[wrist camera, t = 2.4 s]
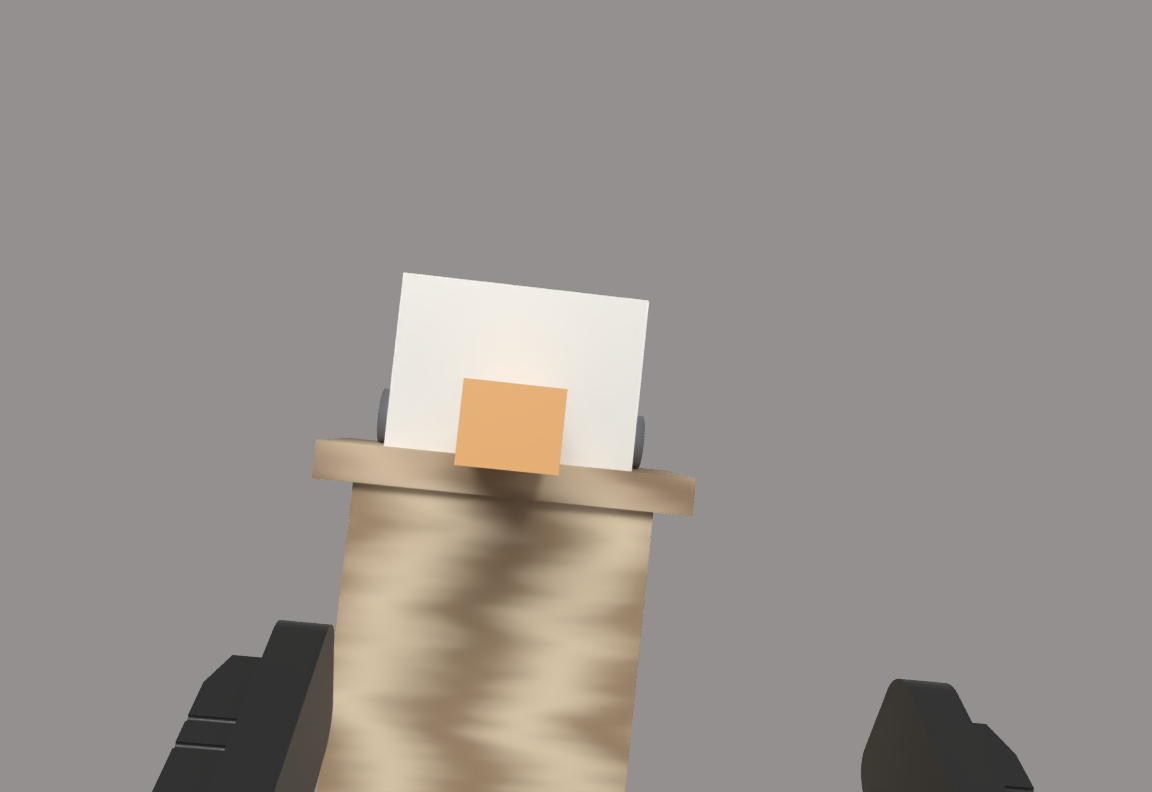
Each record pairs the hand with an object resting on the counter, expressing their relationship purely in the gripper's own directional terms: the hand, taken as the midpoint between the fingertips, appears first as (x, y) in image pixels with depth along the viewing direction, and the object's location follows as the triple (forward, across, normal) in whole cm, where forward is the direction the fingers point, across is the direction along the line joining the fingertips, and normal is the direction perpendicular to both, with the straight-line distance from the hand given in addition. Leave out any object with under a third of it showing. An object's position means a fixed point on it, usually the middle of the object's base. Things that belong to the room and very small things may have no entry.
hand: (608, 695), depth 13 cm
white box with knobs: (+20, +2, +9) cm, 22 cm away
